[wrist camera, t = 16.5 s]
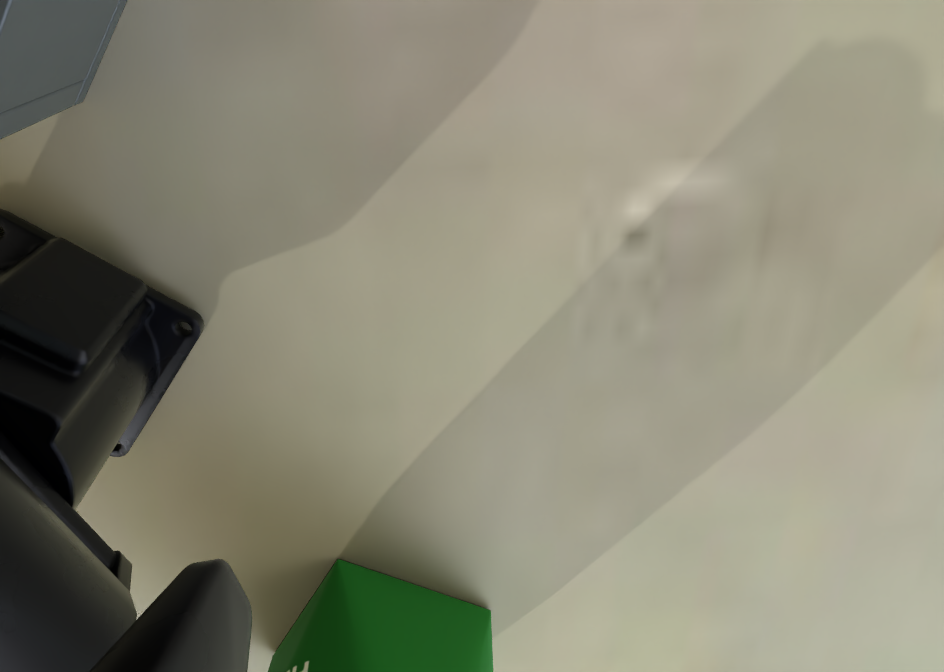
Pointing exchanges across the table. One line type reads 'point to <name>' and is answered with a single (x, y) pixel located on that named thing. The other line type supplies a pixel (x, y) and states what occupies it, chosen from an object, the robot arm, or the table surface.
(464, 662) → the milk carton
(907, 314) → the table surface
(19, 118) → the open storage bin
